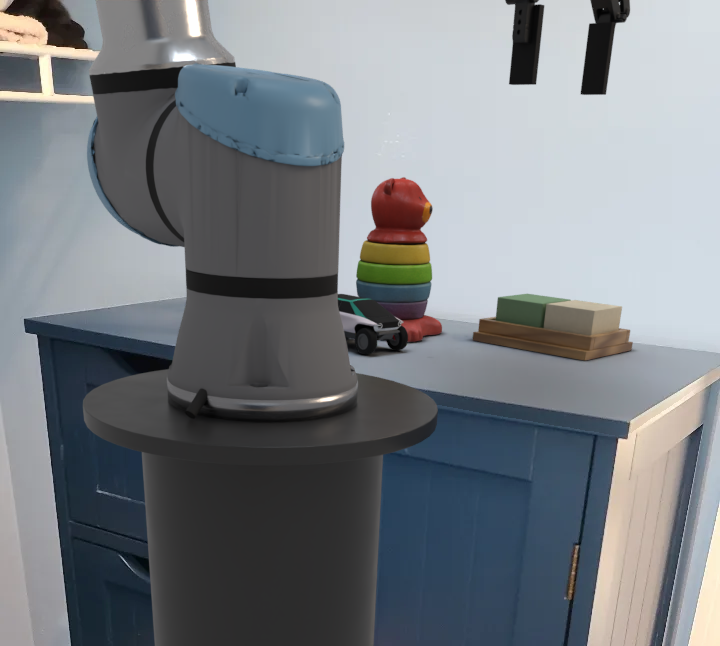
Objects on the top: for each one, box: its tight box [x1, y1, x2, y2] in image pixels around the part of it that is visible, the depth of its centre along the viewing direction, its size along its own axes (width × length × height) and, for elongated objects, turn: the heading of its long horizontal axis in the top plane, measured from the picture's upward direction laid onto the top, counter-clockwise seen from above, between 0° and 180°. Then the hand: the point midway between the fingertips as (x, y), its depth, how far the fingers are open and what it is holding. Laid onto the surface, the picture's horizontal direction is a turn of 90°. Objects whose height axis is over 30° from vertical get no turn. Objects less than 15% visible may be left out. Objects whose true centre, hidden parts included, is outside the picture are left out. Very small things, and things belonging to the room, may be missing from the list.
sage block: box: [495, 293, 572, 328], centre depth 117 cm, size 6×6×4 cm
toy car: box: [338, 293, 409, 355], centre depth 110 cm, size 6×12×5 cm, turn 42°
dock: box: [472, 316, 634, 362], centre depth 116 cm, size 11×16×2 cm
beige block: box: [544, 299, 623, 336], centre depth 113 cm, size 6×6×4 cm
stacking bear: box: [355, 176, 443, 343], centre depth 116 cm, size 11×10×18 cm
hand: (559, 90), depth 98 cm, fingers open, 13 cm apart
